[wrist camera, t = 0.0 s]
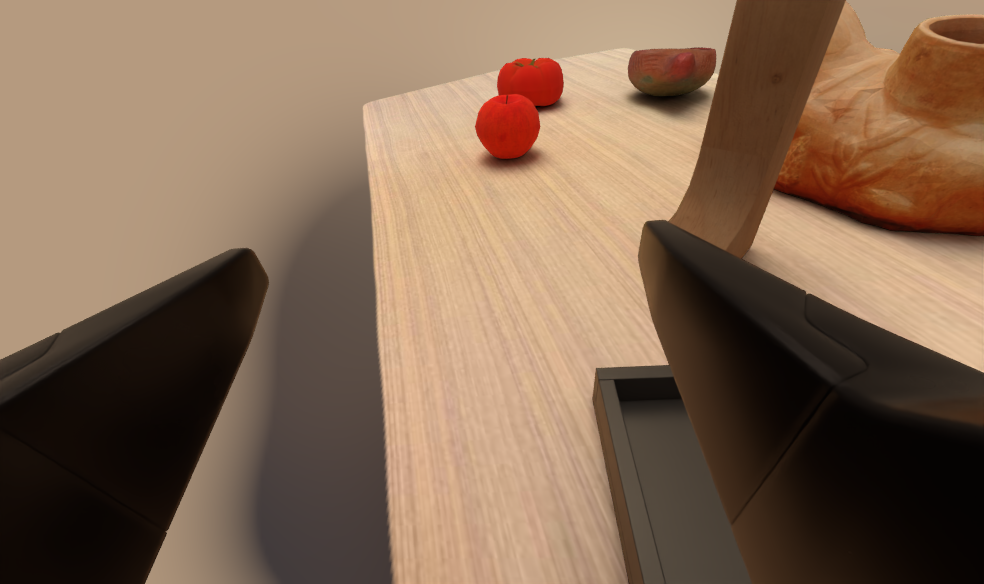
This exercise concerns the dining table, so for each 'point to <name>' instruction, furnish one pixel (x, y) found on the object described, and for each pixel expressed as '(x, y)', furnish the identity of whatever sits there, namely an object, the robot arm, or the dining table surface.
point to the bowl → (671, 70)
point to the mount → (661, 482)
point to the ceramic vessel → (896, 129)
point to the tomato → (532, 80)
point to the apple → (508, 125)
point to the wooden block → (755, 116)
